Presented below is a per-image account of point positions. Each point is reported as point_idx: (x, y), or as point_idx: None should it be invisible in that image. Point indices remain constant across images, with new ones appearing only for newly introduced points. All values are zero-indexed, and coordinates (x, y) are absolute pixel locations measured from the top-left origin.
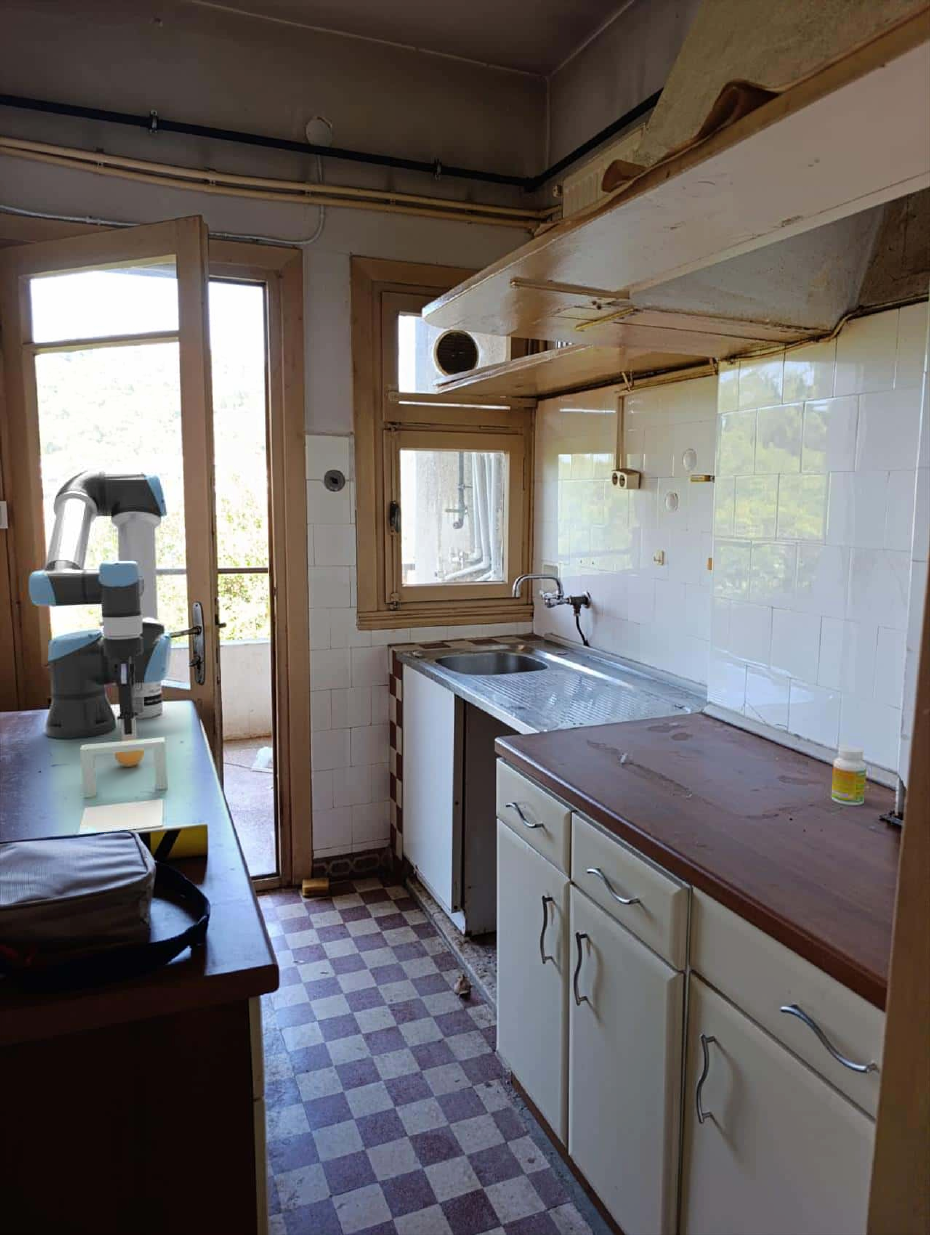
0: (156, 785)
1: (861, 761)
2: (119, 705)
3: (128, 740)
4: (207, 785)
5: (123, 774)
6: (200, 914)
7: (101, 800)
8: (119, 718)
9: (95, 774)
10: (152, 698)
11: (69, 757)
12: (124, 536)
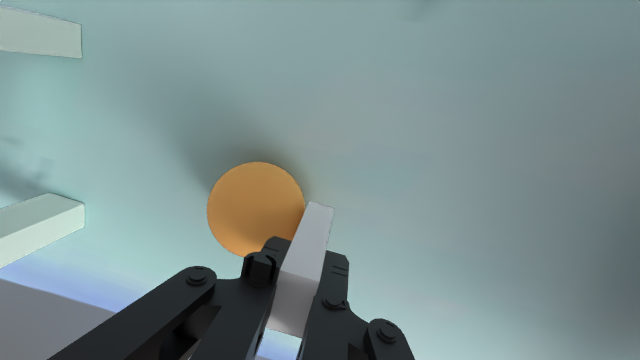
0: (36, 197)
1: None
2: (105, 321)
3: (233, 229)
4: (49, 286)
5: (201, 157)
6: None
7: (10, 57)
8: (246, 264)
9: (21, 52)
10: None
11: (516, 31)
12: None
